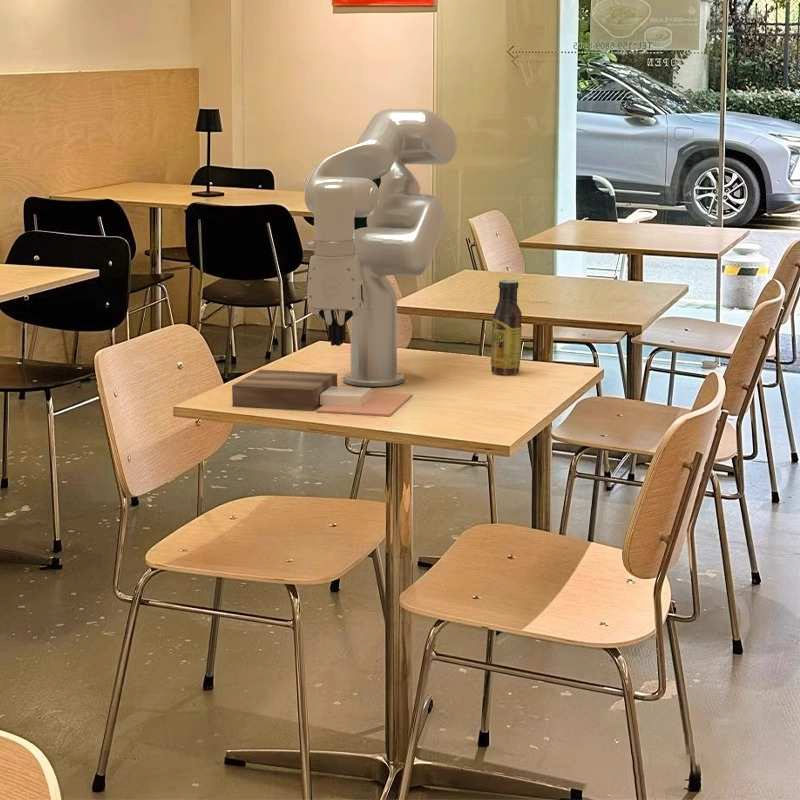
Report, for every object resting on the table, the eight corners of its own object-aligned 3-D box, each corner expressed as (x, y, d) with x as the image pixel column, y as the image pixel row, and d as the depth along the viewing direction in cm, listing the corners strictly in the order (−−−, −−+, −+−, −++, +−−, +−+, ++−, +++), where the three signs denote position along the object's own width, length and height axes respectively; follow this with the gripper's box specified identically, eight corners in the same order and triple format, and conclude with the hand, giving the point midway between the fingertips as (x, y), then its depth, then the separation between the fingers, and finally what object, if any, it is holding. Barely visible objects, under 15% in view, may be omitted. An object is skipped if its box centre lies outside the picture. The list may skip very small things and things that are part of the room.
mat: (343, 392, 270) (343, 390, 270) (412, 396, 267) (412, 394, 267) (316, 412, 253) (316, 410, 253) (389, 416, 250) (389, 414, 250)
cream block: (331, 396, 265) (331, 386, 264) (371, 398, 263) (371, 388, 263) (320, 404, 257) (319, 394, 257) (361, 407, 256) (361, 396, 255)
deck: (260, 389, 273) (260, 369, 272) (337, 393, 269) (337, 373, 269) (232, 406, 258) (232, 385, 257) (313, 410, 254) (313, 389, 253)
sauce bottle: (485, 371, 291) (487, 279, 287) (512, 369, 293) (514, 277, 289) (498, 377, 285) (500, 283, 281) (525, 375, 287) (527, 281, 283)
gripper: (290, 250, 253) (293, 347, 258) (368, 252, 250) (370, 350, 255) (303, 244, 260) (305, 338, 265) (378, 246, 257) (380, 341, 262)
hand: (337, 344), depth 260 cm, fingers closed
